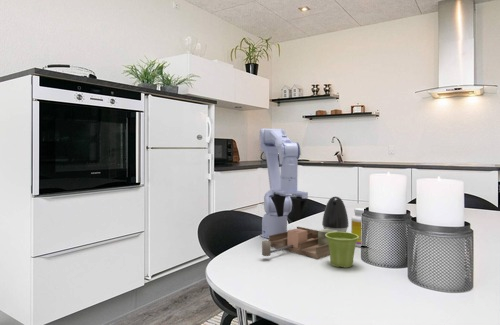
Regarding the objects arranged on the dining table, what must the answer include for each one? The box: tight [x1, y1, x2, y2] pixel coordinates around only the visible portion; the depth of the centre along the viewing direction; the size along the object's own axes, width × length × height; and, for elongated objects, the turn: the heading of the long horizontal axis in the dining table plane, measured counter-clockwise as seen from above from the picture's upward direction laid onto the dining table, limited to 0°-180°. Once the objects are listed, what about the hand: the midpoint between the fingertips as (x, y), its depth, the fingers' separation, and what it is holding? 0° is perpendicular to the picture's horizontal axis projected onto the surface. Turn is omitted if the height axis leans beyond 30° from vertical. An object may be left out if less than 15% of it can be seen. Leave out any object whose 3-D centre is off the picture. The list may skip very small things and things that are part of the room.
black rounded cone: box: [321, 196, 349, 232], centre depth 139 cm, size 10×10×15 cm
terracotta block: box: [261, 228, 307, 257], centre depth 111 cm, size 4×19×5 cm, turn 134°
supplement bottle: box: [350, 207, 365, 248], centre depth 123 cm, size 7×7×13 cm
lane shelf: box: [268, 226, 338, 260], centre depth 120 cm, size 20×16×6 cm
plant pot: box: [325, 231, 359, 269], centre depth 102 cm, size 9×9×9 cm
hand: (288, 217), depth 118 cm, fingers open, 7 cm apart
